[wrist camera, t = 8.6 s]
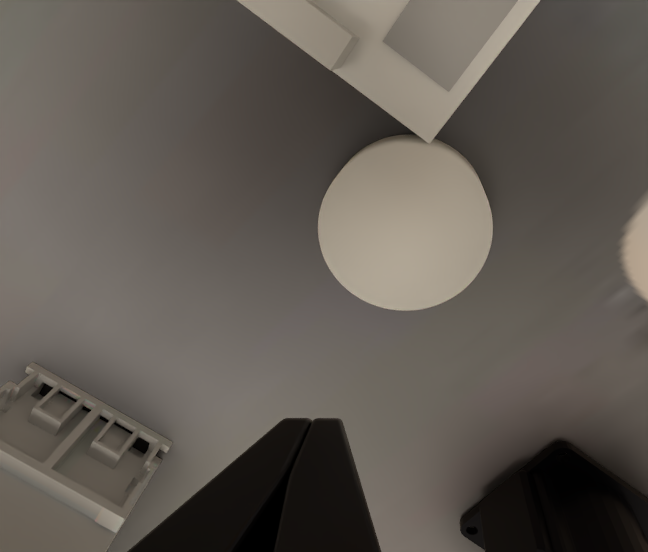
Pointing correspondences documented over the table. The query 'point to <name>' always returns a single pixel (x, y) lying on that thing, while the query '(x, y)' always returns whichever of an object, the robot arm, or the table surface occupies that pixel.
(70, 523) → the circuit breaker
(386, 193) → the cream dome knob
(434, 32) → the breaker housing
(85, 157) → the table surface
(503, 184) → the table surface
